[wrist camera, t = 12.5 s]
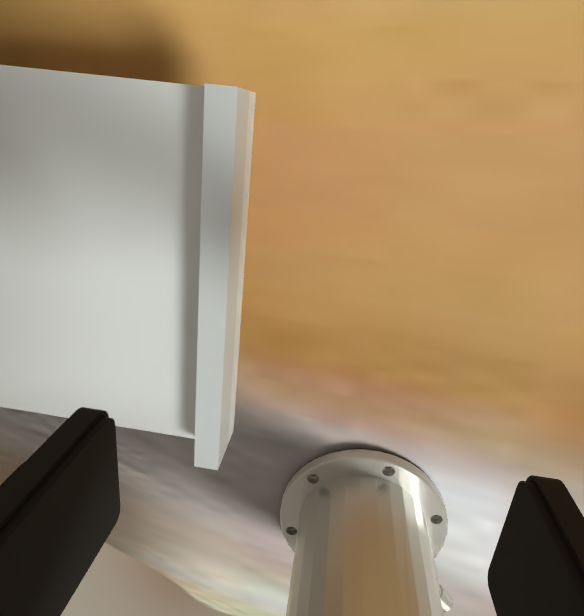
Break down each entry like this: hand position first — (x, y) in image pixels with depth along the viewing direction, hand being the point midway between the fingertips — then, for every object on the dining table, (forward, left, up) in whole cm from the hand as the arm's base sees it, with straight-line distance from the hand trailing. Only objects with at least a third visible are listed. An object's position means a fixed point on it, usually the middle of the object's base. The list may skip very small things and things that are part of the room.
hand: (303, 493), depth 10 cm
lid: (+9, +8, -13) cm, 17 cm away
